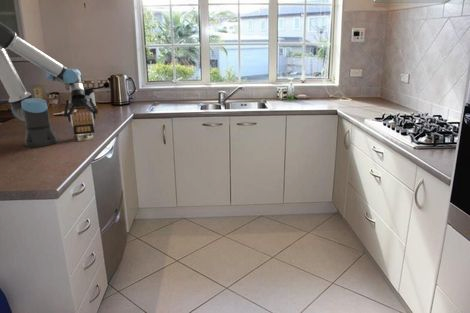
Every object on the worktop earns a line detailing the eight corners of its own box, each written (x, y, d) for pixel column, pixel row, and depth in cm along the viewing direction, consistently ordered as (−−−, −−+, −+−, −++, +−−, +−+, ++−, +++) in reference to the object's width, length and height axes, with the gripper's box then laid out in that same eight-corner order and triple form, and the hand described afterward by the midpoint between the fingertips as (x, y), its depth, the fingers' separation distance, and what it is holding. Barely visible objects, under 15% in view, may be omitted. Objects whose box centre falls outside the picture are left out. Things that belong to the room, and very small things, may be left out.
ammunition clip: (94, 132, 218) (91, 111, 214) (94, 132, 216) (91, 111, 212) (74, 134, 214) (70, 112, 211) (74, 134, 213) (70, 113, 209)
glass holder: (92, 108, 310) (90, 90, 306) (77, 108, 314) (74, 90, 309) (98, 106, 319) (96, 88, 314) (83, 106, 322) (81, 88, 318)
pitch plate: (78, 141, 207) (77, 137, 206) (76, 134, 222) (76, 131, 221) (93, 139, 210) (93, 135, 209) (91, 133, 225) (90, 129, 224)
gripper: (98, 95, 228) (104, 126, 218) (56, 98, 219) (61, 130, 210) (98, 87, 221) (104, 118, 212) (55, 90, 213) (59, 123, 203)
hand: (83, 124), depth 211 cm, fingers closed on ammunition clip, 10 cm apart
